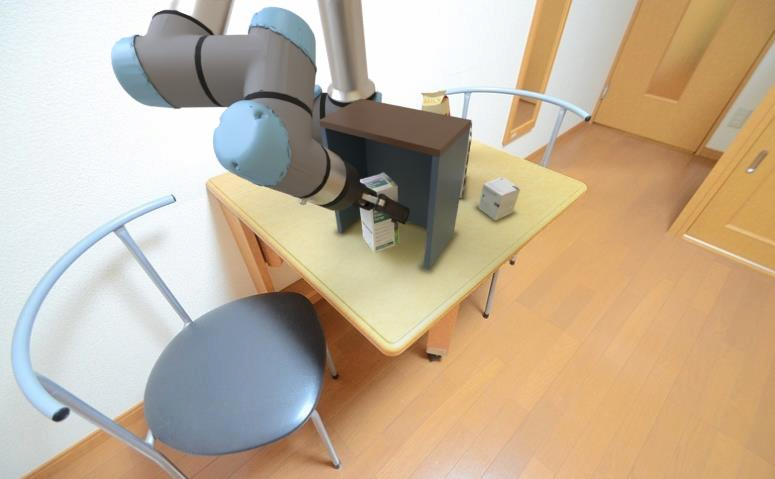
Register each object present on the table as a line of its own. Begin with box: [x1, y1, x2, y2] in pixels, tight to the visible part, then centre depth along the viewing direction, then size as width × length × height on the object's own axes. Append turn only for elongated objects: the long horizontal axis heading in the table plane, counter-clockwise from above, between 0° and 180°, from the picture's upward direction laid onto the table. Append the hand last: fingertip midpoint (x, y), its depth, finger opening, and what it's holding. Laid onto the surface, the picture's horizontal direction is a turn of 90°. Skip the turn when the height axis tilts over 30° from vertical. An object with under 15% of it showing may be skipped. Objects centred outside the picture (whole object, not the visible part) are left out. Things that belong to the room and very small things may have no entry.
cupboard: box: [319, 99, 472, 271], centre depth 64 cm, size 23×13×26 cm, turn 58°
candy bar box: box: [459, 119, 473, 199], centre depth 81 cm, size 11×5×16 cm, turn 168°
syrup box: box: [360, 172, 399, 254], centre depth 62 cm, size 6×6×14 cm
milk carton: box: [420, 89, 452, 116], centre depth 93 cm, size 9×9×20 cm
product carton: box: [478, 176, 522, 221], centre depth 75 cm, size 6×6×7 cm
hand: (387, 211), depth 65 cm, fingers closed on syrup box, 8 cm apart
